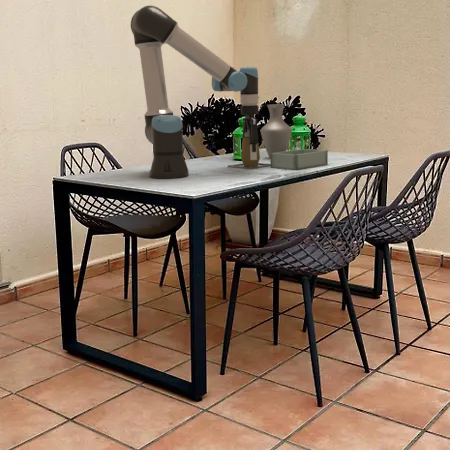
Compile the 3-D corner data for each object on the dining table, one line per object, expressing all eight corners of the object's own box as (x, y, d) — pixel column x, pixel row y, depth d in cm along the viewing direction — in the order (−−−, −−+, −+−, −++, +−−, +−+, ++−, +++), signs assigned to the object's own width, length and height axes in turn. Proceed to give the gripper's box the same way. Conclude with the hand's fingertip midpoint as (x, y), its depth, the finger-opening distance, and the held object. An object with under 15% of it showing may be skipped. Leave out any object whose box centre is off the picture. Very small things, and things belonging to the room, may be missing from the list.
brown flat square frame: (251, 169, 264) (251, 167, 264) (227, 166, 274) (227, 165, 274) (273, 165, 273) (273, 164, 273) (250, 163, 283) (250, 162, 283)
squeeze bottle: (260, 165, 277) (259, 123, 273) (259, 167, 269) (259, 124, 265) (242, 165, 278) (241, 123, 274) (240, 167, 270) (239, 124, 266)
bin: (295, 170, 258) (295, 155, 256) (270, 167, 267) (270, 153, 266) (327, 164, 272) (327, 150, 271) (302, 162, 282) (302, 148, 280)
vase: (284, 156, 308) (284, 103, 303) (297, 159, 295) (296, 104, 290) (256, 157, 304) (255, 104, 299) (268, 161, 291) (267, 105, 285)
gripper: (265, 105, 259) (266, 160, 264) (251, 104, 279) (252, 155, 284) (247, 105, 257) (248, 161, 262) (234, 104, 277) (235, 156, 282)
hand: (250, 158), depth 273 cm, fingers open, 8 cm apart
